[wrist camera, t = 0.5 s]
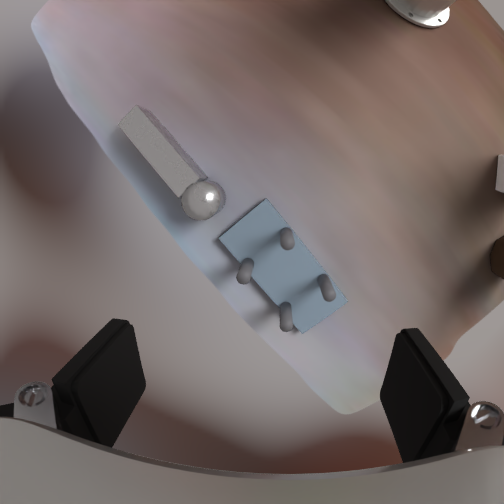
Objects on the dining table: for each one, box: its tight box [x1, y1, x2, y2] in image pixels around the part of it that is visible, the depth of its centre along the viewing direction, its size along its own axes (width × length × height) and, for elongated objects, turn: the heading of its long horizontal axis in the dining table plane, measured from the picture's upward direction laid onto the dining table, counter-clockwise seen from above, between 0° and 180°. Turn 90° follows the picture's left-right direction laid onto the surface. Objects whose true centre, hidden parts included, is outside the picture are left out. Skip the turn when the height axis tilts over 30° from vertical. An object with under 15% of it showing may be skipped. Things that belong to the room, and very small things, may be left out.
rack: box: [219, 198, 348, 334], centre depth 37 cm, size 18×8×7 cm, turn 40°
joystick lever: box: [118, 105, 226, 220], centre depth 36 cm, size 17×5×4 cm, turn 40°
